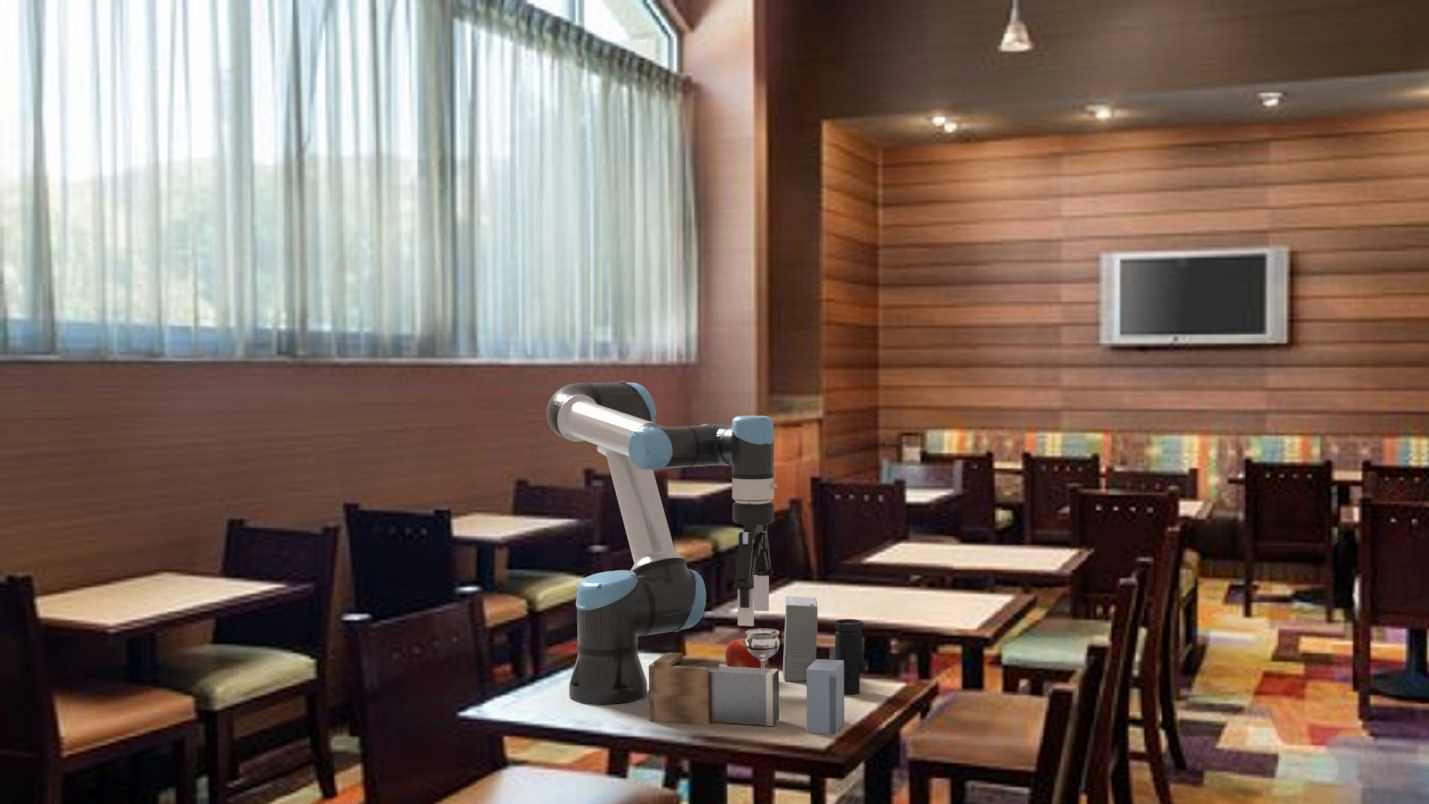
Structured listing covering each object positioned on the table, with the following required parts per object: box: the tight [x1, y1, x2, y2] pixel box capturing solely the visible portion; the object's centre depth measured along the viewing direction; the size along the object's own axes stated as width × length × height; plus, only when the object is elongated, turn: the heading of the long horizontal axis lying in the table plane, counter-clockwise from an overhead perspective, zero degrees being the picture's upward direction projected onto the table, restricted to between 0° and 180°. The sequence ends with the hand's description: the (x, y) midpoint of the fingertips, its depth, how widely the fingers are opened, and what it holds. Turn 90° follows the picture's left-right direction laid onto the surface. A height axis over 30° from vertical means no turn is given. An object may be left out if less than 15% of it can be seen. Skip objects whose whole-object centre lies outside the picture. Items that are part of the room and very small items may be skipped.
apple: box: [724, 635, 761, 668], centre depth 266 cm, size 8×8×10 cm
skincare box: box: [782, 596, 819, 682], centre depth 269 cm, size 8×7×16 cm
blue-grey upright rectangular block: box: [806, 658, 845, 735], centre depth 232 cm, size 5×8×11 cm, turn 164°
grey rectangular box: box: [672, 663, 780, 727], centre depth 238 cm, size 21×5×9 cm, turn 74°
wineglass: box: [745, 628, 781, 669], centre depth 256 cm, size 7×7×12 cm
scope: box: [825, 618, 870, 696], centre depth 256 cm, size 8×14×10 cm
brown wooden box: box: [648, 651, 721, 726], centre depth 239 cm, size 11×8×11 cm
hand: (753, 618), depth 240 cm, fingers open, 13 cm apart
